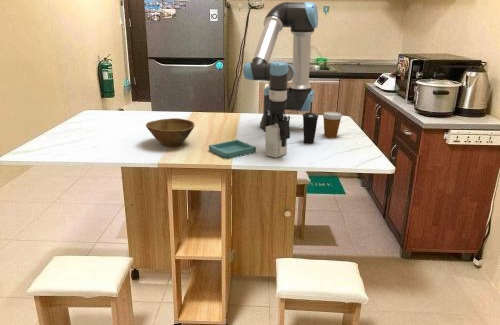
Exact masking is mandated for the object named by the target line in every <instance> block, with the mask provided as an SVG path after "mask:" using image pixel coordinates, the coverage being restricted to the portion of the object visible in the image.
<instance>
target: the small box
mask: <svg viewBox="0 0 500 325" xmlns="http://www.w3.org/2000/svg"><path fill="white" fill-rule="evenodd" d="M283 137H284V136H283ZM279 139H281V136H280V128H279V127H278V124H277V123H276V124H275V125H270V126H267V127H266V132H265V140H264V141H265V142H264V143H265V147H264V150H265V151H264V152H265V153H264V155H265V156H268V157H272V158H279V157H281V156H284V155H286V154H287V153H288V152H287V151H288V139H286V146H285V153H282V154H279Z"/></svg>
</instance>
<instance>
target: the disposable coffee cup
mask: <svg viewBox="0 0 500 325" xmlns="http://www.w3.org/2000/svg"><path fill="white" fill-rule="evenodd" d="M322 117H323V132H324V134H323V135H324V137H325V138H328V139H335V138H338V133H339V128H340V124H341V119H342V117H343V116H342V113H340V112H337V111H326V112H325V111H324V113H323V114H322Z"/></svg>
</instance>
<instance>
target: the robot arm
mask: <svg viewBox="0 0 500 325" xmlns="http://www.w3.org/2000/svg"><path fill="white" fill-rule="evenodd" d="M318 26H319V12H318V7H317V4H316V3H315V2H312V1H311V2H310V1H294V2H293V1H292V2H291V1H284V2H283V1H282V2H280V3H277V4H276V5H275V6H274V7H272V8H271V9H270V10H269V12H268V13H266V15H265V18H264V20H263V29H262V33H261V35H260V38H259V39H258V43H257V46H256V49H255V52H254V54H253V58H252V59H251V61H250V62H245V63H244V65H243V69H242V70H243V71H242V72H243V73H242V74H243V76H244V79H245V80H249V81H263V82H264V81H265V82H269V85H268V86H267V85H266V86H265V88H264V91H263V113H262V117H261V119H260V120H261V121H260V122H259V129H261V130H263V132H264V133H266V127H267V126H270V125H275V124H276V123H277V124H278V127H279V128H280V136H281V139H279V154H282V153H285V146H286V139H287V140H288V139H290V138H291V135H290V134H291V131H290V130H291V129H290V120H291V116H290V115H287V114H286V111H294V112H306V113H308V112H310V106H311V102H312V104H313V103H314V98H315V90H314V89H312V85H311V83H310V82H309V81H310V79H309V78H310V62H311V61H310V60H311V41H312V40H311V39H312V34H314V33H315V29H317V28H318ZM284 28H290V32H291V34H292V35H293V40H292V41H293V43H292V65H291V63H287V62H285V61H273V62H270V60H271V57H272V54H273V51H274V48H275V46H276V41H277V39H278V37H279V33H281V31H282V30H283V29H284ZM269 62H270V63H269ZM289 81H291V83H290V84H289V86H288V83H289ZM283 136H284V137H283Z"/></svg>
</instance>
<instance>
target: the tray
mask: <svg viewBox="0 0 500 325" xmlns="http://www.w3.org/2000/svg"><path fill="white" fill-rule="evenodd" d="M208 152H211V153H213V154H214V153H215V154H214V155H216V154H217V156H219V157H221V158H223V159H225V158H226V159H225V160H229V158H230V159H234V158H237V156H239V157H241V156H240V155H243V156H245V155H244V154H247V155H250V154H249V153H251V154H255V153H256V152H257V146H255V145H252V144H250V143H247V142H245V141H243V140H239V139H235V140H229V141H225V142H220V143H214V144H210V145H208ZM254 152H255V153H254ZM233 157H234V158H233Z"/></svg>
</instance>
